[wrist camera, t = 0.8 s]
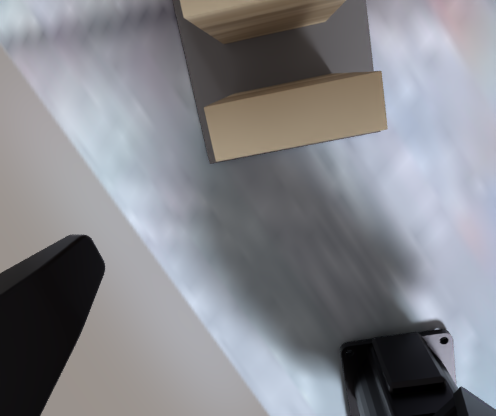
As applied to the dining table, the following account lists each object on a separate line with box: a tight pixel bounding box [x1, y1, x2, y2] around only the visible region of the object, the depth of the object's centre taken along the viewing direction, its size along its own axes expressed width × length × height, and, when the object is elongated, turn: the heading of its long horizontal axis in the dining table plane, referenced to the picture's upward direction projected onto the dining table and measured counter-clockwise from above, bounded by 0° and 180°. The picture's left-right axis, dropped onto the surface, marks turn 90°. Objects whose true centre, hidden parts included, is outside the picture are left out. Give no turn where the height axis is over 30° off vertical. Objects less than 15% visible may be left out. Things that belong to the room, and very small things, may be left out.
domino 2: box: [204, 71, 387, 162], centre depth 17 cm, size 2×5×10 cm, turn 101°
